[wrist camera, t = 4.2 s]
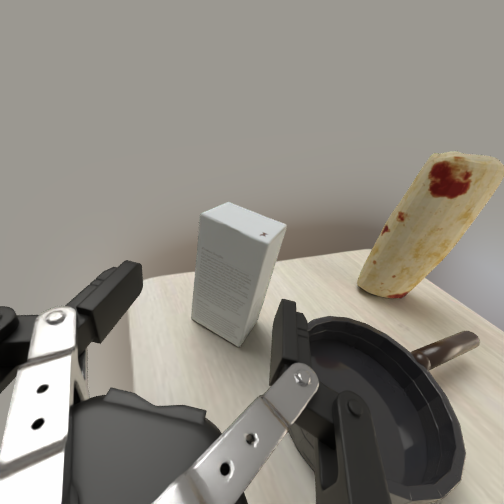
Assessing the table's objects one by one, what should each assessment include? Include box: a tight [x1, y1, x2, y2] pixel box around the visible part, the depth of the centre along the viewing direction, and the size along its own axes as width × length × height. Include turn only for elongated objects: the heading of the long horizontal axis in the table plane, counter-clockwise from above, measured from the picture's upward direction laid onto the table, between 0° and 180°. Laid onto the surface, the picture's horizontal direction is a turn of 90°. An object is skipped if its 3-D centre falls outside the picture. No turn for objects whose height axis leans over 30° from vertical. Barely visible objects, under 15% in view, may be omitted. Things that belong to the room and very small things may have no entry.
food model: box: [357, 151, 504, 298], centre depth 30 cm, size 10×7×20 cm
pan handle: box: [411, 331, 480, 371], centre depth 23 cm, size 11×2×2 cm, turn 113°
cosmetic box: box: [191, 202, 287, 347], centre depth 21 cm, size 6×4×12 cm
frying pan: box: [288, 316, 466, 504], centre depth 19 cm, size 13×13×4 cm
